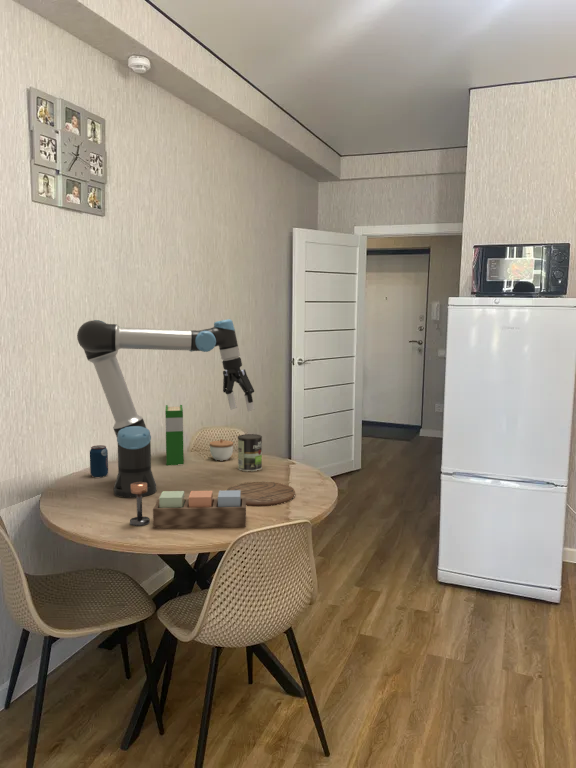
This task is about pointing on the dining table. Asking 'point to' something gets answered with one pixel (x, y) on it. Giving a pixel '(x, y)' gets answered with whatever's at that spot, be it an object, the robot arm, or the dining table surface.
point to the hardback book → (174, 435)
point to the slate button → (229, 498)
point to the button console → (200, 516)
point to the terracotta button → (201, 499)
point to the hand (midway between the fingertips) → (242, 409)
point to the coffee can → (249, 452)
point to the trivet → (264, 493)
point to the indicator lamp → (139, 504)
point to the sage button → (171, 499)
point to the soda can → (98, 461)
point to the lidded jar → (221, 449)
